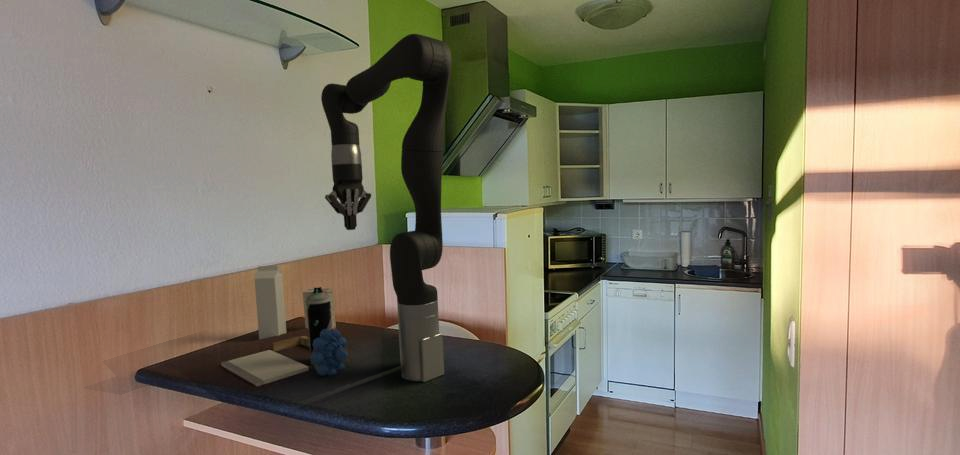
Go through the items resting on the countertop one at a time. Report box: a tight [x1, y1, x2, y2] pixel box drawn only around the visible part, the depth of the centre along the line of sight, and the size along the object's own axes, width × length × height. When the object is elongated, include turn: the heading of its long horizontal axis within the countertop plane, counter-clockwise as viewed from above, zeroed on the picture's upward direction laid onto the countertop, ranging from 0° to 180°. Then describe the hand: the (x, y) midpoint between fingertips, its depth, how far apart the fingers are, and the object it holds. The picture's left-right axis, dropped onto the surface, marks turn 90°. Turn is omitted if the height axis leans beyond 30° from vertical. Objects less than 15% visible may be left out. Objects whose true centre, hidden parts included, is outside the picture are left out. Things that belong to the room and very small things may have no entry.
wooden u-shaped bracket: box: [271, 335, 351, 370], centre depth 127 cm, size 24×9×4 cm, turn 47°
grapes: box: [310, 328, 350, 376], centre depth 113 cm, size 12×7×12 cm, turn 158°
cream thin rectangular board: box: [220, 349, 310, 387], centre depth 119 cm, size 21×2×13 cm
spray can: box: [307, 286, 332, 366], centre depth 121 cm, size 6×6×20 cm
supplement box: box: [302, 287, 337, 329], centre depth 155 cm, size 8×5×13 cm, turn 84°
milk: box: [254, 265, 287, 340], centre depth 149 cm, size 6×6×22 cm
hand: (351, 229), depth 130 cm, fingers closed
